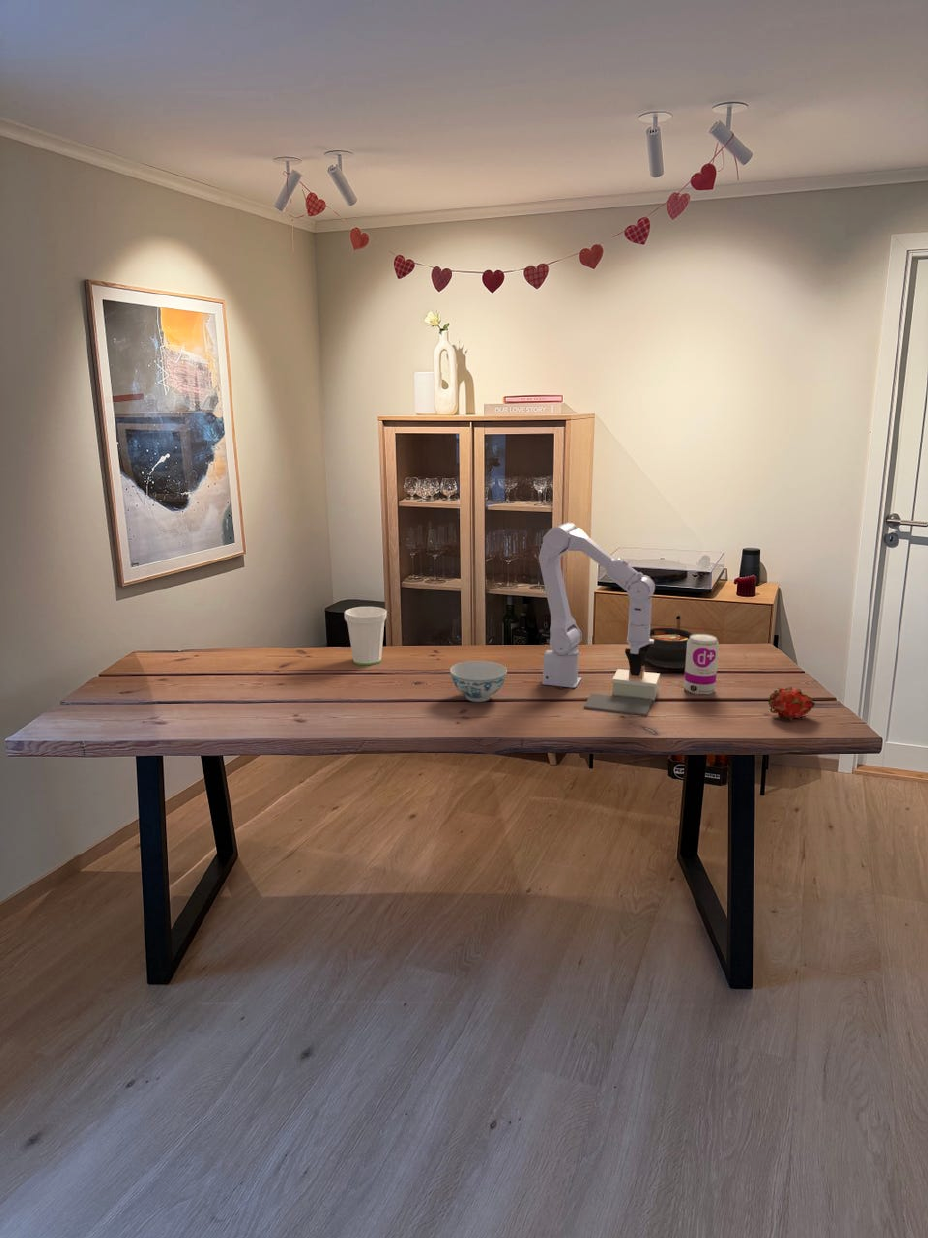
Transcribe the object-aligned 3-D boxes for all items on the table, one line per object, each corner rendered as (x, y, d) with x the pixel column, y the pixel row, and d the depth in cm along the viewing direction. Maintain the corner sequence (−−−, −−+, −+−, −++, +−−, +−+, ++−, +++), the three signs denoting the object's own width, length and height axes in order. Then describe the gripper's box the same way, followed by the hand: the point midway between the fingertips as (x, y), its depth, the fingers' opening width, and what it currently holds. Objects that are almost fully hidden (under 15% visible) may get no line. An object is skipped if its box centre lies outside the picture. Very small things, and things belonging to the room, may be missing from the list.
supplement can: (716, 696, 229) (720, 642, 225) (684, 694, 231) (688, 641, 227) (713, 686, 237) (718, 634, 233) (683, 684, 239) (686, 632, 235)
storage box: (612, 696, 229) (613, 682, 228) (617, 686, 237) (618, 672, 236) (654, 701, 226) (655, 686, 225) (658, 691, 233) (658, 677, 232)
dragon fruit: (761, 721, 217) (807, 728, 217) (776, 713, 209) (824, 720, 209) (760, 689, 220) (806, 695, 220) (775, 680, 212) (822, 686, 213)
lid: (612, 685, 228) (612, 669, 227) (617, 675, 236) (618, 660, 235) (655, 690, 225) (656, 674, 224) (659, 680, 232) (660, 664, 231)
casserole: (630, 648, 271) (631, 622, 269) (689, 648, 271) (691, 623, 268) (643, 674, 247) (645, 646, 245) (708, 674, 247) (711, 646, 244)
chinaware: (480, 712, 218) (481, 683, 216) (438, 698, 228) (438, 670, 226) (518, 696, 229) (518, 669, 227) (476, 683, 239) (476, 657, 237)
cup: (352, 653, 265) (350, 605, 261) (392, 655, 263) (390, 607, 259) (341, 666, 253) (339, 616, 249) (382, 668, 251) (381, 618, 247)
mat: (583, 708, 221) (583, 706, 221) (591, 695, 230) (591, 693, 230) (646, 715, 216) (646, 714, 216) (651, 702, 225) (652, 700, 225)
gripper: (651, 631, 218) (648, 682, 222) (658, 617, 231) (655, 665, 235) (623, 629, 220) (620, 679, 224) (632, 615, 233) (629, 662, 237)
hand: (636, 671), depth 230 cm, fingers open, 5 cm apart
